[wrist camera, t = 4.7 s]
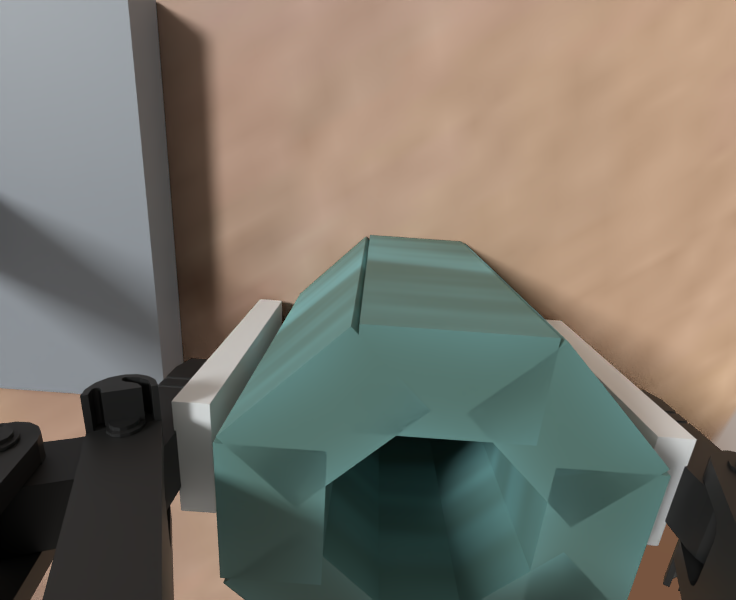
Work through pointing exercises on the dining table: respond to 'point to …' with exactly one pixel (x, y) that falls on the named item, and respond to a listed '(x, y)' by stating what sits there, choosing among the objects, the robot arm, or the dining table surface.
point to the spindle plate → (84, 197)
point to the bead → (428, 446)
